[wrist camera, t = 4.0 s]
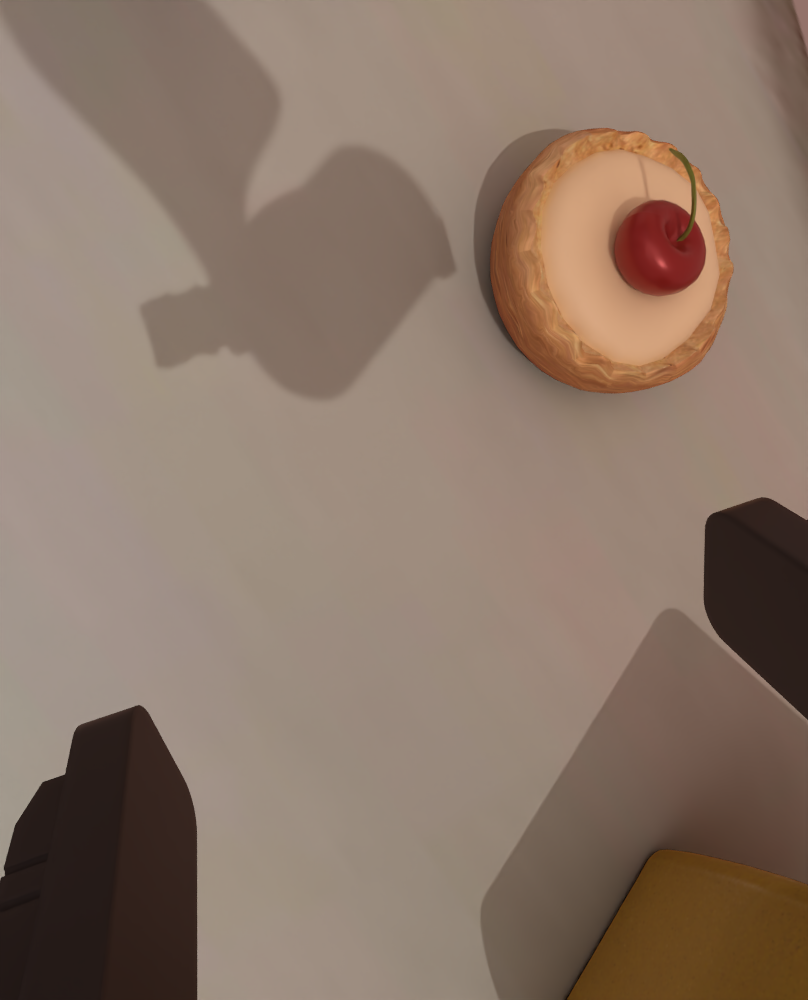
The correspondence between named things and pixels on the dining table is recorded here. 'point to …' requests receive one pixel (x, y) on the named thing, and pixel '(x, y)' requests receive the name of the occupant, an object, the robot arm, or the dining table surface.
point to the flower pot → (703, 935)
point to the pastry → (611, 262)
